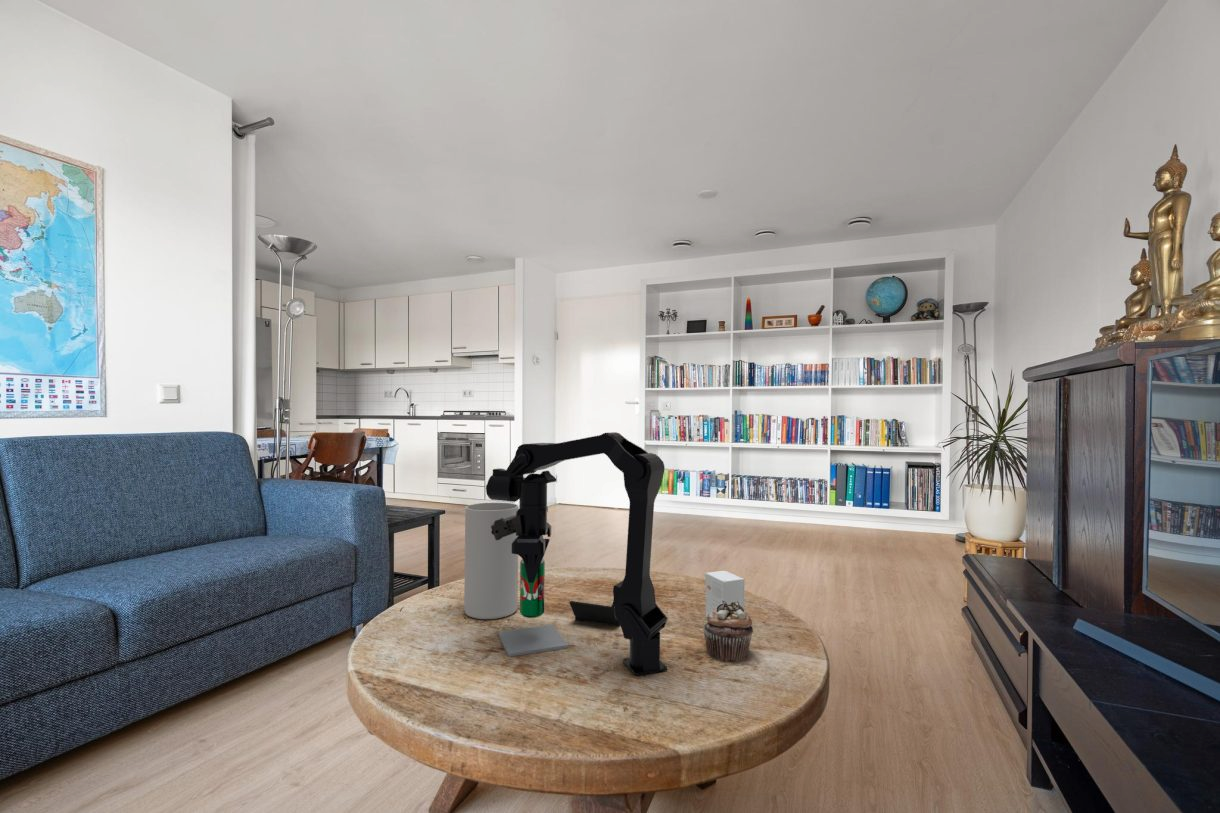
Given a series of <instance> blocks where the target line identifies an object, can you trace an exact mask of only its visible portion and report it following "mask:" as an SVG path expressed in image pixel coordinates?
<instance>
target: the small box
mask: <svg viewBox="0 0 1220 813" xmlns="http://www.w3.org/2000/svg"><path fill="white" fill-rule="evenodd" d="M704 575H705V577H704V578H705V580H704V581H705V618H706V617H708V614H710V613H711V612H713V611H714V610H715V609H716V607H717V606H718V605H720V604H721V603H722V601H725V602H726V603H727V604H728V605H730V604H731V603H732V602H737V601H738V602H739V603H740V604H741V605H742V607H743V608H744V612H745V613H746V611H745V609H746V608H745V606H746V605H745V602H746V601H745V579H744V578H742V577H740V576H738V575H735V574H733V573H731V572H730V571H727V570H720V571H719V570H718V571H712V572H711V571H710V572H708V571H707V572H705V574H704Z"/></svg>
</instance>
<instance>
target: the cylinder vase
mask: <svg viewBox="0 0 1220 813" xmlns="http://www.w3.org/2000/svg"><path fill="white" fill-rule="evenodd" d="M464 507H465V509H464V511H465V512H464V513H465V516H464V518H465V520H464V521H465V522H464V524H465V525H464V583H463V584H464V593H463V594H464V597H463V598H464V604H463V606H464V607H463V608H464V609H463V610H464V613H465V614H466V615H467V616H468V617H470V618H473V619H477V620H497V619H503V618H506V617H509V616H510V615H513V614H514V613H515V612H516V611H517V610H518V607H519V606H518V605H519V603H518V602H519V601H518V600H519V598H518V596H519V555H518V554H512V543H513V541H514V540H515V539H516V538H517V537H518V536H516V532H515V533H513V534H511V535H508V536H505V537H502V539H500V540H495V537H494V535H493V534H492V533H491V531H492V529H491V525H492V524H493V523H494V521H495V520H499V519H501V518H504V519H505V518H508V517H511V516H514V515H516V512H517V511H518V509H519V504H517V503H513V502H512V503H511V502H499V501H498V502H482V503H481V502H478V503H473V504H468V505H466V506H464Z"/></svg>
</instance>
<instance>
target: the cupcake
mask: <svg viewBox="0 0 1220 813" xmlns="http://www.w3.org/2000/svg"><path fill="white" fill-rule="evenodd" d="M706 619H707V620H706V621H707V622H705V623H704V624H703V625H702V630H703V635H704V641H705V646H706V653H707V654H708V655H709V656H710V657H711V658H713V659H715V658H716V659H715V660H718V659H720V660H719V661H722V660H726V661H725V662H736V661H735V660H739V661H741V659H743V660H745V659H746V658H747V657H746V656H748V654H749V651H750V650H749V649H750V645H751V639H752V635H753V633H754V629H753V626H752V625H753V621H752V619H751V617H750V616H749V614H748V613H747V612H746V611H745V612H744V608H743V607H742V605H741V604H740V603H739V602H738V601H737V602H732V603H731V604H730V605H728V604H727V603H726V602H725V601H722V603H721V604H720V605H718V606H717V607H716V609H715V610H714V611H713V612H711V613H710V614H708V617H707V618H706ZM745 657H746V658H745ZM744 658H745V659H744ZM730 660H731V661H730ZM732 660H733V661H732Z"/></svg>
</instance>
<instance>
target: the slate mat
mask: <svg viewBox="0 0 1220 813" xmlns="http://www.w3.org/2000/svg"><path fill="white" fill-rule="evenodd" d="M497 635H498V637H499V639H500V641H501V643H502V646H503V648H504V650H505V652H506V654H507V656H508V658H510V657H516V656H517V657H518V656H523V655H530V654H536V653H537V654H538V653H544V652H550V651H551V652H552V651H557V650H565V649H569V644H568V643H567V642H566V641H565V639H564V637H562V635H561V634H560V632H559V631H558V629H556V627H555V626H554V625H553V624H547V625H538V626H531V627H523V628H515V629H507V630H500V631H497Z"/></svg>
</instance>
